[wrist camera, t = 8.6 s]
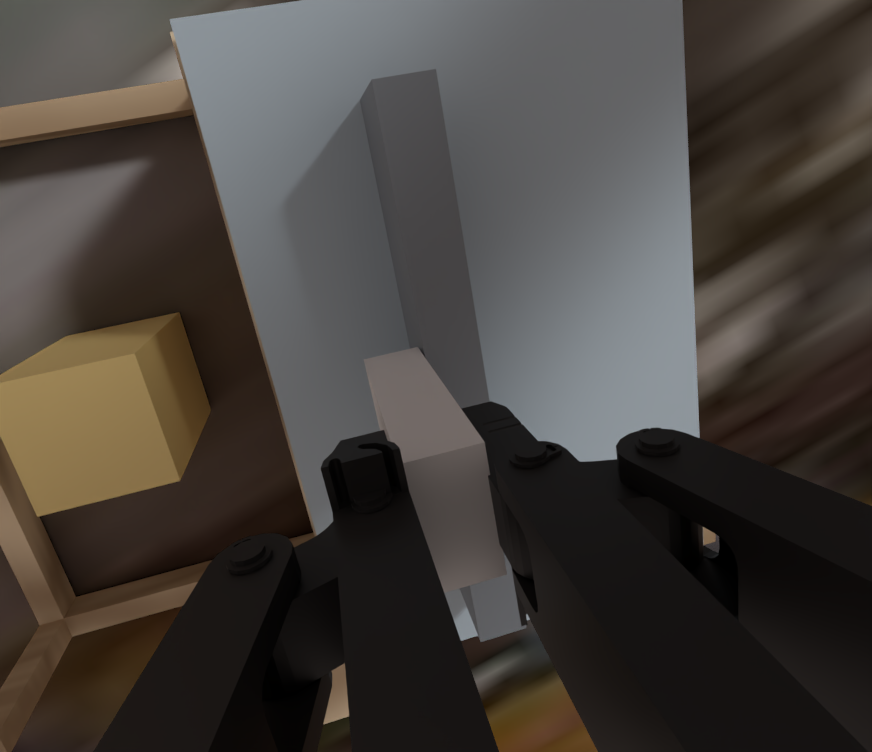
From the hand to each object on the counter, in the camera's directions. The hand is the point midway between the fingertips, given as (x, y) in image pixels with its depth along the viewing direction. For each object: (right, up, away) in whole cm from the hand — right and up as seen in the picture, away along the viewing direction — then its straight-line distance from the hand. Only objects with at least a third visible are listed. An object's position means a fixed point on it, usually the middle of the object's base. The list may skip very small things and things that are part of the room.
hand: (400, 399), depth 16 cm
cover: (+3, +2, +3) cm, 5 cm away
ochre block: (-12, +1, +9) cm, 15 cm away
